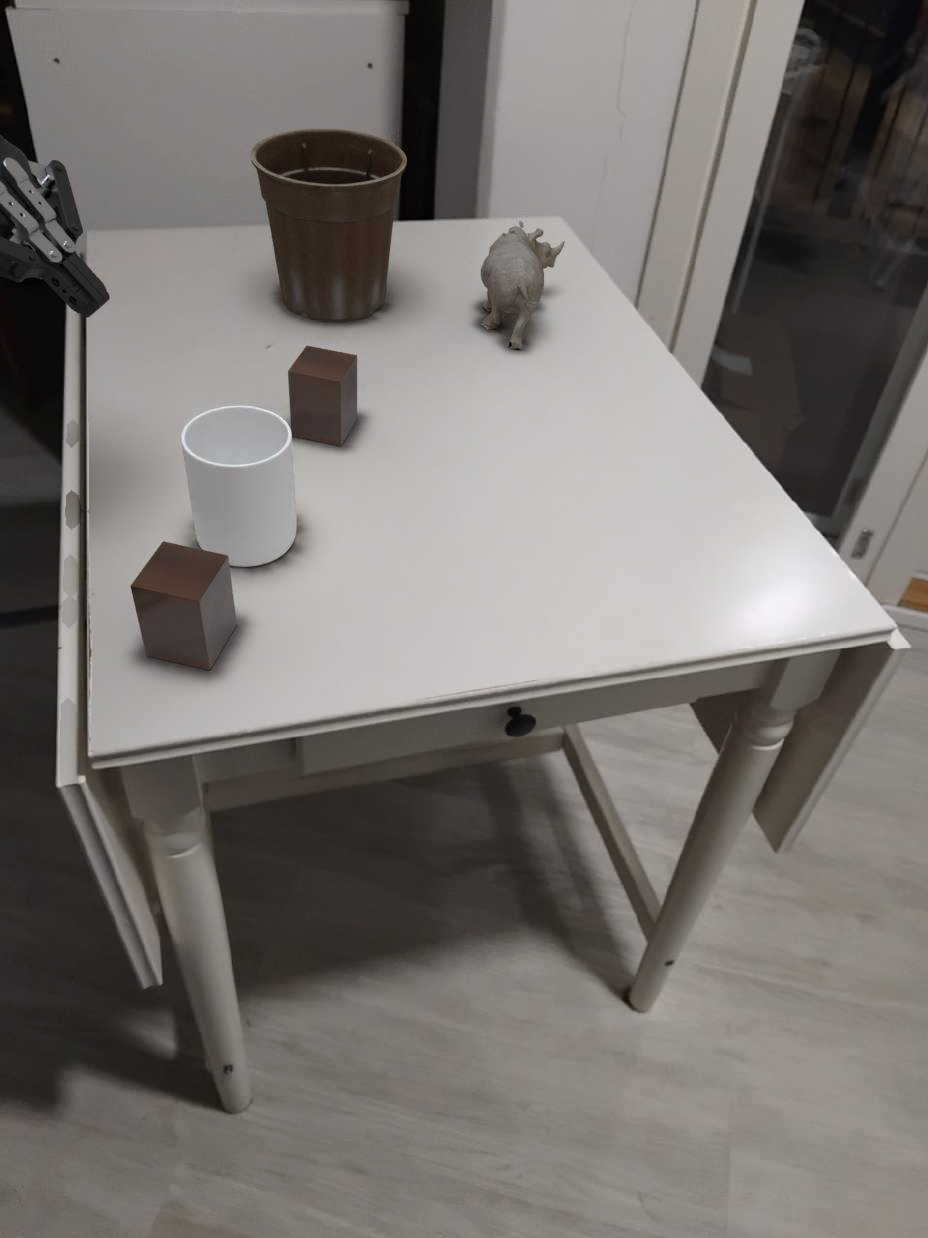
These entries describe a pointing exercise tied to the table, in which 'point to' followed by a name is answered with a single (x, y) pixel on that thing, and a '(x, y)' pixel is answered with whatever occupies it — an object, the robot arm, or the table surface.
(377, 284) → the plant pot
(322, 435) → the block far
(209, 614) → the block near
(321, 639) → the table surface
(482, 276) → the rhinoceros figurine
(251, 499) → the cup
